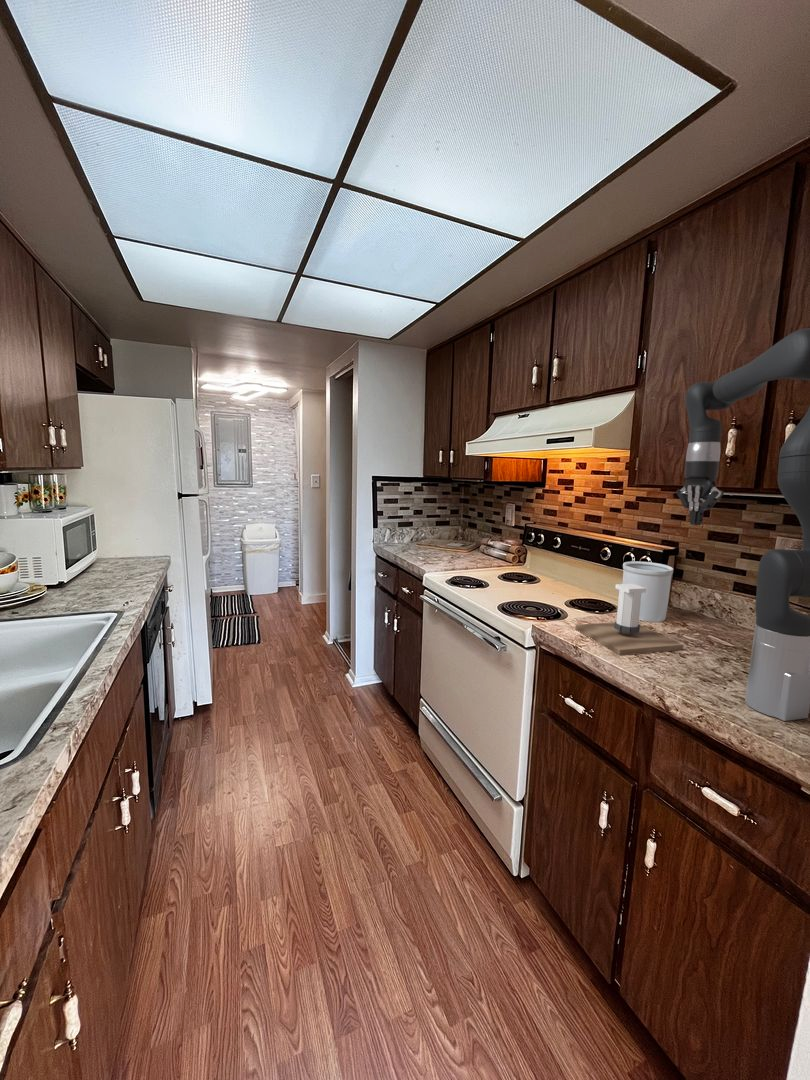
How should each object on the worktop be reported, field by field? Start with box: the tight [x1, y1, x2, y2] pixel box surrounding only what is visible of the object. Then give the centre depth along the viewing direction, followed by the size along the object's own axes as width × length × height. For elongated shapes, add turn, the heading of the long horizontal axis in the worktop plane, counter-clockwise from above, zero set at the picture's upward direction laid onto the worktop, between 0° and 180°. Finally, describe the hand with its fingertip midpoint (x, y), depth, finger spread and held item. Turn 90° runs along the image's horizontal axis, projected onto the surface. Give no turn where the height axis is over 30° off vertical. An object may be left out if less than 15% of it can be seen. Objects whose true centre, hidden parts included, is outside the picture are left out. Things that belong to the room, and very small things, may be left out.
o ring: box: [614, 620, 641, 633], centre depth 130 cm, size 6×6×2 cm
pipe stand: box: [574, 621, 684, 656], centre depth 129 cm, size 20×20×14 cm
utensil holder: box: [621, 560, 674, 623], centre depth 151 cm, size 15×15×18 cm
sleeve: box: [615, 583, 646, 627], centre depth 129 cm, size 6×6×11 cm
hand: (695, 524), depth 121 cm, fingers closed
